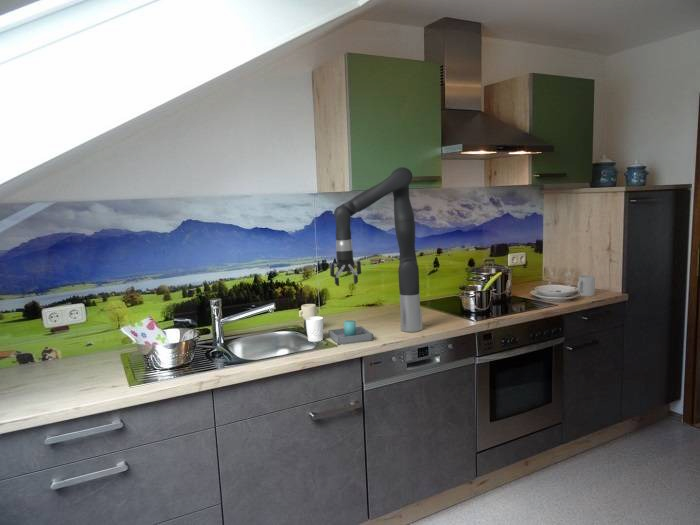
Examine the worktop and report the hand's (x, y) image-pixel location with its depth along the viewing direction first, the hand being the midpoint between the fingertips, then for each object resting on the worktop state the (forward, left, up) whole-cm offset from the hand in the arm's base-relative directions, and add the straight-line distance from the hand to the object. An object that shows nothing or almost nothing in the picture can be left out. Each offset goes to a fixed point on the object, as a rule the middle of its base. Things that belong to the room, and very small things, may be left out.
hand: (346, 284), depth 233 cm
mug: (-150, -20, -24) cm, 153 cm away
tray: (+2, +7, -23) cm, 25 cm away
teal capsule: (+2, +7, -23) cm, 24 cm away
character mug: (+16, -14, -24) cm, 31 cm away
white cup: (+17, +2, -24) cm, 29 cm away
